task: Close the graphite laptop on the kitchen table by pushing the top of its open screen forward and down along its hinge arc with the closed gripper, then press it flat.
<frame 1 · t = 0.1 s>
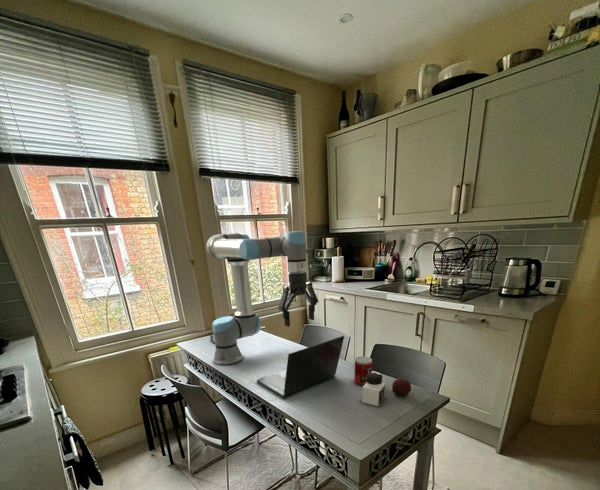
hand: (299, 322, 138), 28 cm above the table, tool pointing down, fingers open, 13 cm apart
laptop: (295, 380, 149), on the table
laptop screen: (314, 365, 135), point 12 cm above the table, hinge at 105.0°
canned food: (362, 382, 145), on the table
medicine bottle: (373, 400, 129), on the table
red apple: (400, 395, 132), on the table
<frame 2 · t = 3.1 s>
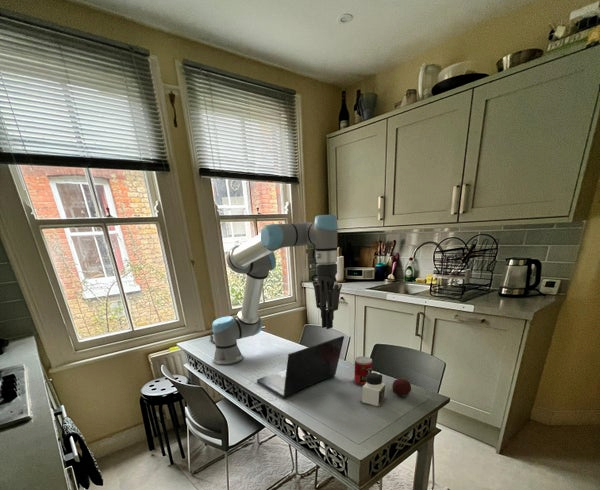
hand: (327, 327, 121), 30 cm above the table, tool pointing down, fingers closed
nothing on the table moved.
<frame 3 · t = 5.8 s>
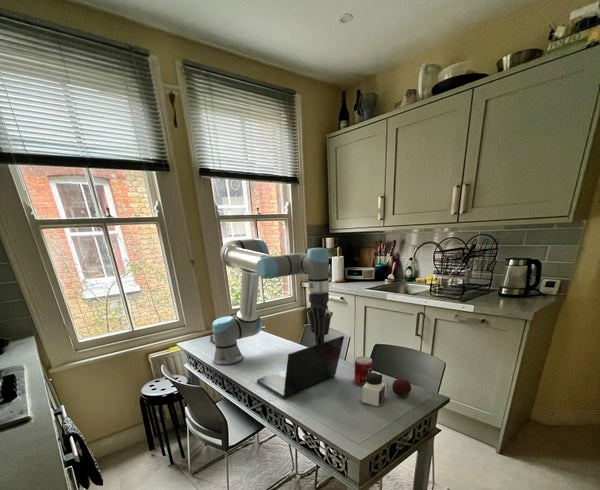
hand: (319, 350, 129), 20 cm above the table, tool pointing down, fingers closed
laptop screen: (314, 365, 135), point 12 cm above the table, hinge at 104.9°, touching gripper
everything else where it was.
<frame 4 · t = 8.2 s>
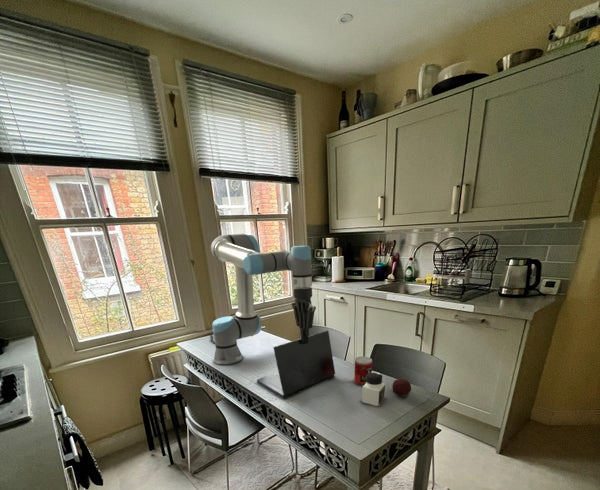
hand: (304, 343, 135), 21 cm above the table, tool pointing down, fingers closed
laptop screen: (306, 361, 138), point 12 cm above the table, hinge at 77.5°, touching gripper
everything else where it was.
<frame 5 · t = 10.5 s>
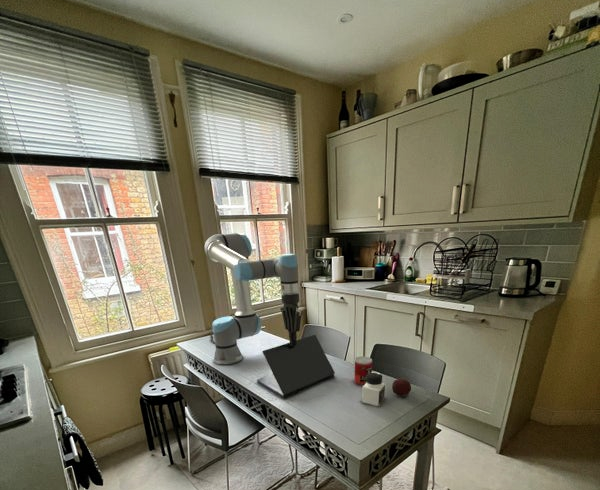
hand: (293, 345, 143), 17 cm above the table, tool pointing down, fingers closed
laptop screen: (300, 362, 142), point 10 cm above the table, hinge at 50.0°, touching gripper
everything else where it was.
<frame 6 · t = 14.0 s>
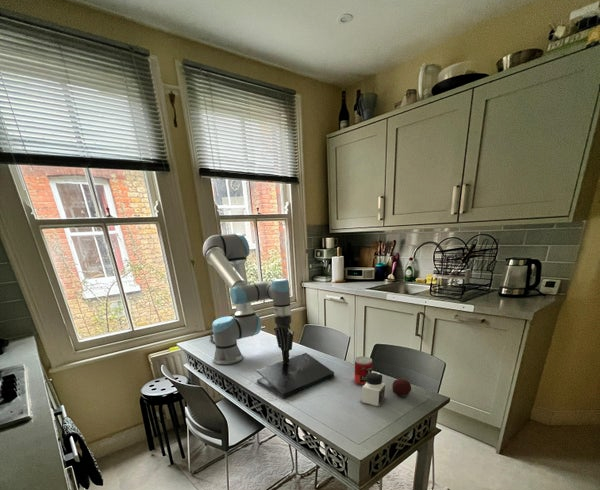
hand: (286, 362, 152), 7 cm above the table, tool pointing down, fingers closed
laptop screen: (295, 371, 147), point 4 cm above the table, hinge at 12.0°, touching gripper
everything else where it was.
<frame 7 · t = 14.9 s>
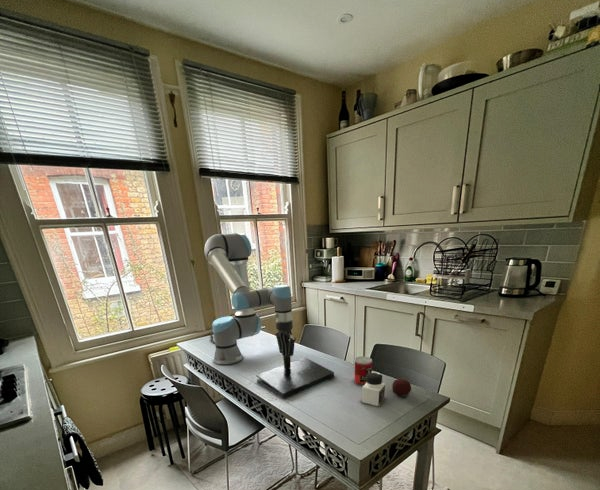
hand: (287, 368, 152), 4 cm above the table, tool pointing down, fingers closed
laptop screen: (295, 374, 148), point 3 cm above the table, hinge at 4.4°, touching gripper
everything else where it was.
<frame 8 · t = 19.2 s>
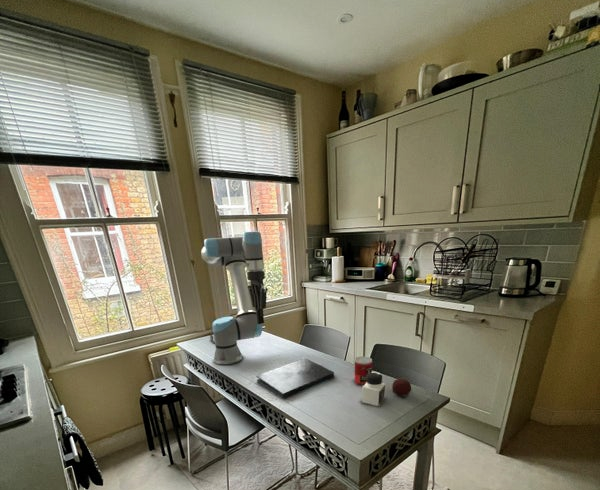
hand: (260, 323, 145), 26 cm above the table, tool pointing down, fingers closed
laptop screen: (295, 374, 148), point 3 cm above the table, hinge at 3.4°, touching laptop
everything else where it was.
at the end: laptop screen at +3° (first picture: +105°); canned food moved 0.2 cm from its start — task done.
